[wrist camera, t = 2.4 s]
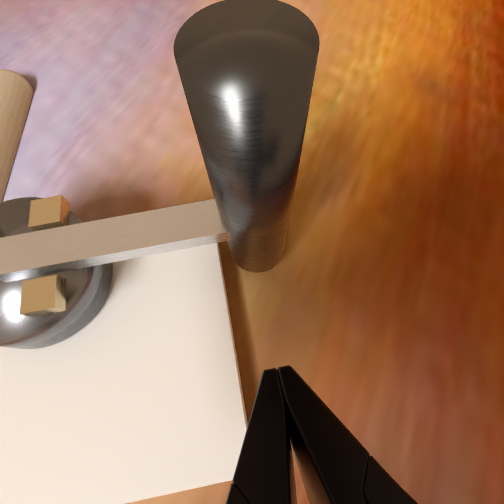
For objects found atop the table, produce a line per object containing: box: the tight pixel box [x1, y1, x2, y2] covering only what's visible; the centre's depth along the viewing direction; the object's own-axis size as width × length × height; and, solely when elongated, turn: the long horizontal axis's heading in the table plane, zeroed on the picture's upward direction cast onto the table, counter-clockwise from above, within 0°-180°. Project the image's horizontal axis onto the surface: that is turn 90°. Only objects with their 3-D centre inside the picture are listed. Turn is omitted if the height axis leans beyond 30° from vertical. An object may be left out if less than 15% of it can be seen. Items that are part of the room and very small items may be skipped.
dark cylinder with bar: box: [0, 0, 319, 349], centre depth 13 cm, size 8×19×13 cm, turn 101°
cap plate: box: [0, 243, 248, 504], centre depth 18 cm, size 15×15×2 cm
